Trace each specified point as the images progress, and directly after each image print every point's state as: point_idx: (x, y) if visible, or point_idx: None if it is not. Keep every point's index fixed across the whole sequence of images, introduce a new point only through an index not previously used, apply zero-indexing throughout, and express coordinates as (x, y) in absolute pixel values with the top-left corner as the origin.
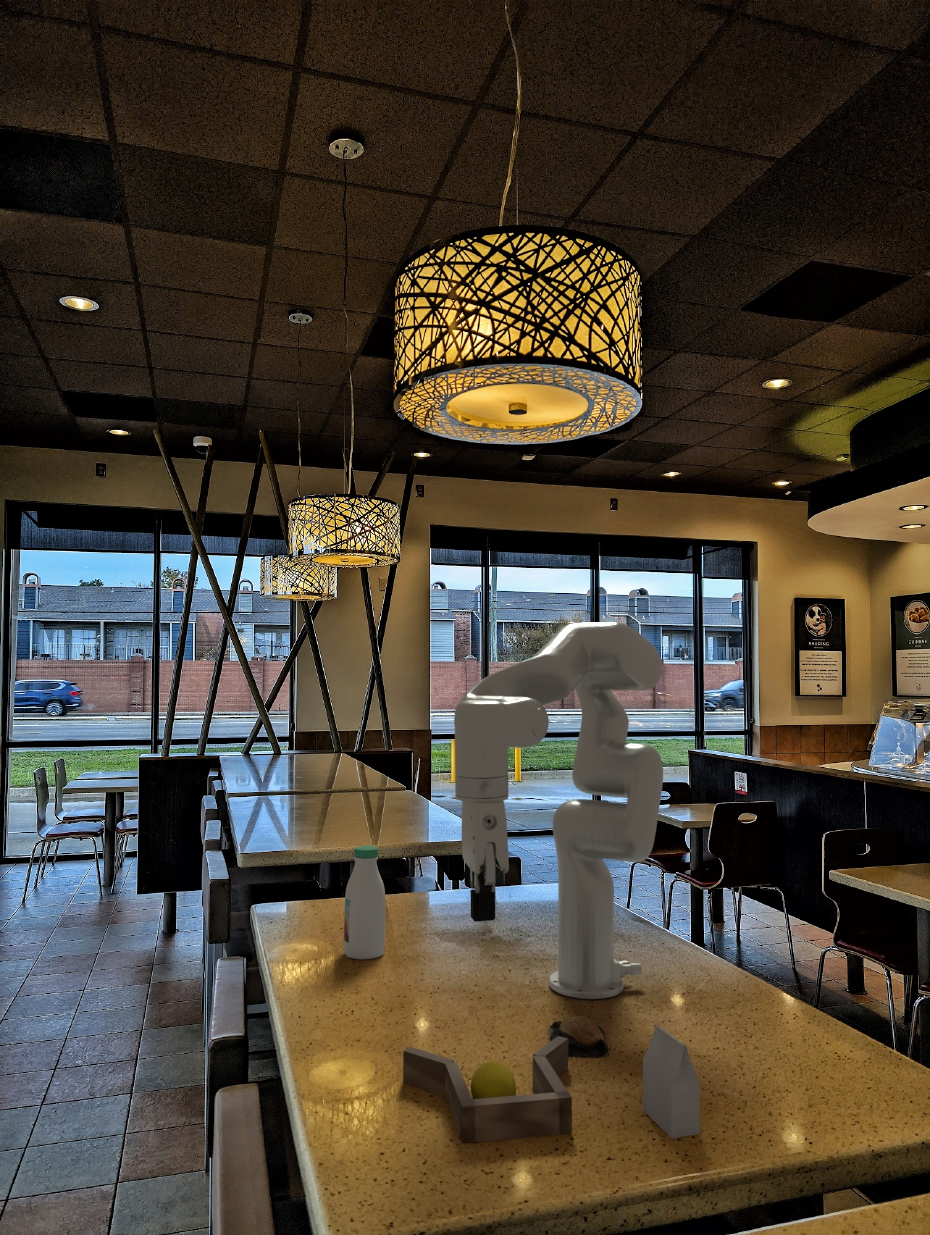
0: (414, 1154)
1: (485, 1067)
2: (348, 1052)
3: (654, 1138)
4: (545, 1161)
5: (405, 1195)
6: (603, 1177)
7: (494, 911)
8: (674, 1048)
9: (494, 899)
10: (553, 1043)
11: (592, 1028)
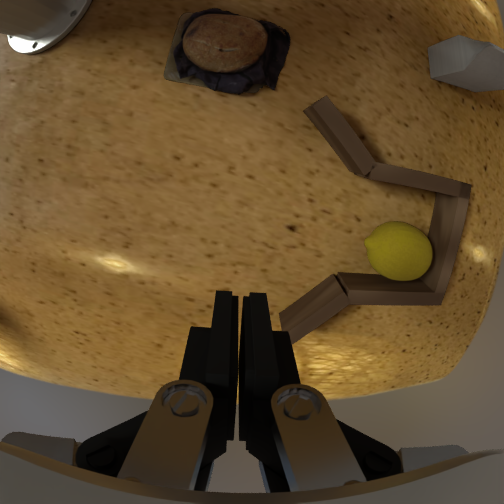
0: (417, 328)
1: (410, 272)
2: None
3: (472, 106)
4: (471, 225)
5: (453, 337)
6: (499, 189)
7: (267, 311)
8: None
9: (272, 346)
10: (337, 126)
11: (248, 27)
